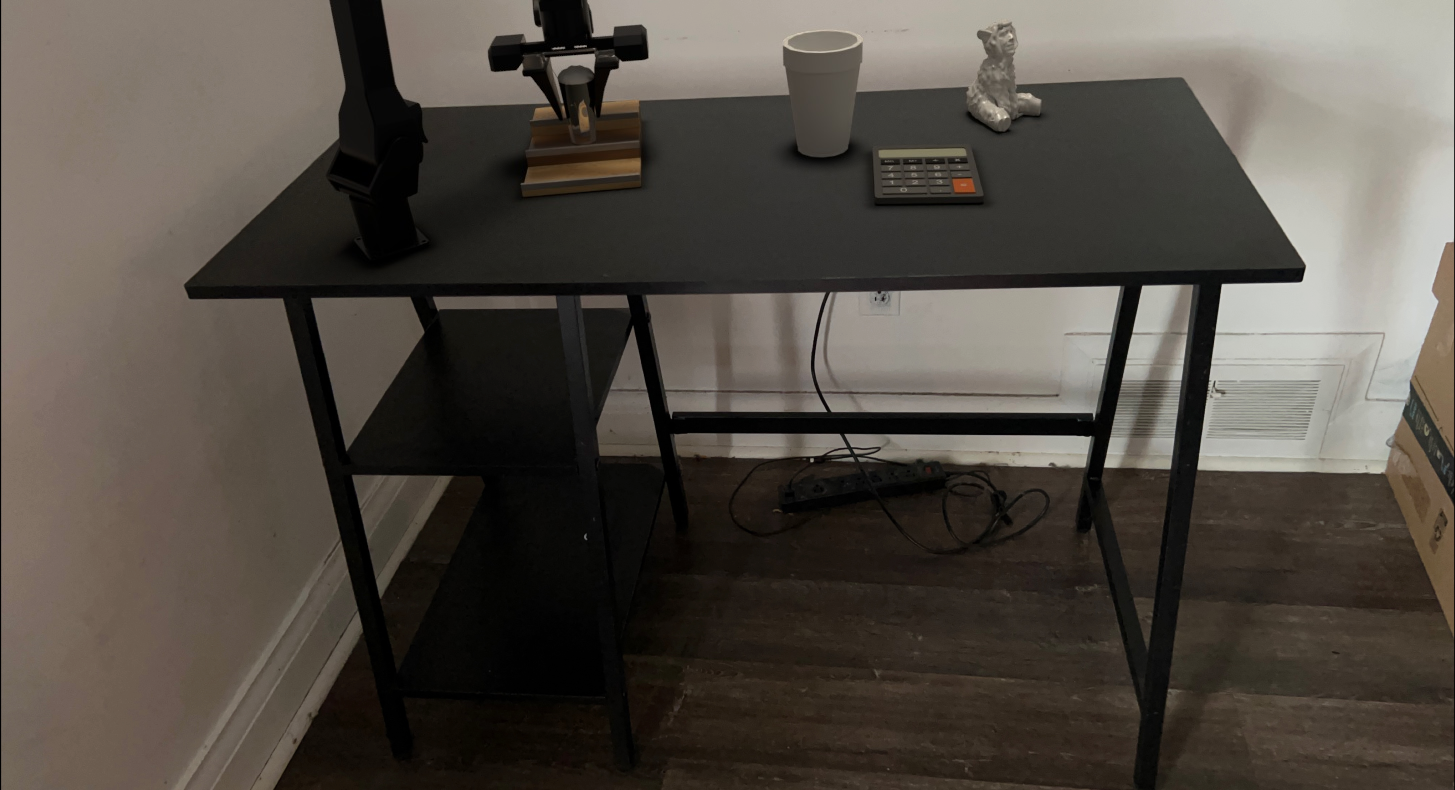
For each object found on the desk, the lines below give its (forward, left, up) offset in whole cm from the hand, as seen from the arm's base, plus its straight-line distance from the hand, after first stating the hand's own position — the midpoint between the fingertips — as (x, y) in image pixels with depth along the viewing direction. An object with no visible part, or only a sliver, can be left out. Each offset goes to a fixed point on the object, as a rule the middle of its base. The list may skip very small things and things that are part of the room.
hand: (580, 118), depth 119 cm
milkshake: (0, 0, -3) cm, 3 cm away
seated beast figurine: (-25, -47, -5) cm, 54 cm away
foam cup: (-18, -24, -5) cm, 31 cm away
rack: (0, 0, -5) cm, 5 cm away
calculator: (-33, -27, -5) cm, 43 cm away
